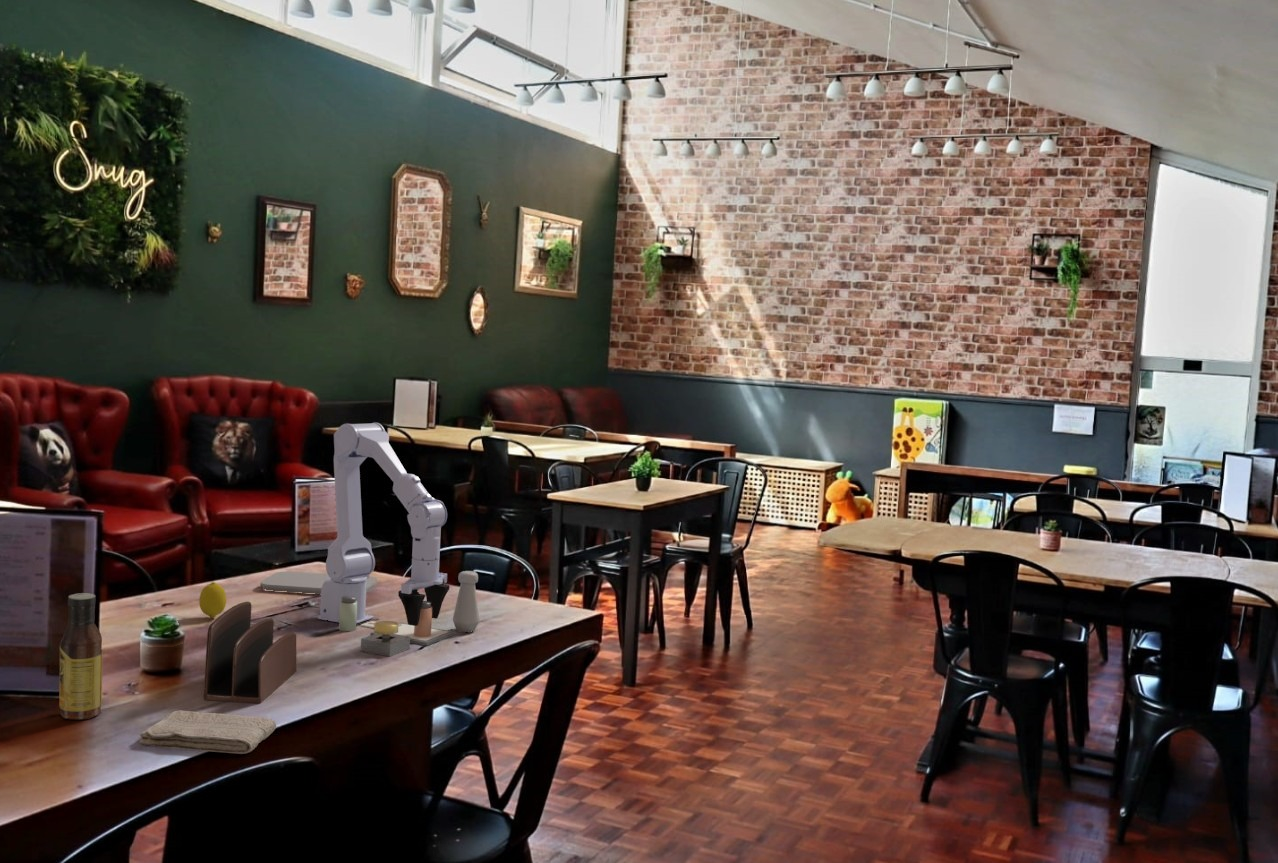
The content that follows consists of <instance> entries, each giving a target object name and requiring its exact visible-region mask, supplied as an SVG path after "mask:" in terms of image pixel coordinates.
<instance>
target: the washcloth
mask: <svg viewBox="0 0 1278 863" xmlns="http://www.w3.org/2000/svg"><path fill="white" fill-rule="evenodd" d="M276 728H277V723H276V722H275V720H273V719H272V718H267V717H260V716H259V717H256V716H245V715H241V714H233V713H232V714H227V713H216V712H212V713H211V712H201V711H190V710H181V709H180V710H174V711H172V712H171V713H166V714H165V716H164V718H163V719H161V720H159V721H158V722H156V723H155V724H153V725H151V726H149V727H147V728H146V729H145V730H143V731H142V732H141V731H140V737H141V738H139V743H140V744H142V745H145V746H146V745H147V746H150V747H157V748H166V749H176V750H188V751H189V750H190V751H200V752H201V751H202V752H212V753H213V752H215V753H228V754H239V755H243V754H244V755H245V754H248V753H251V752H253V751H254V750H255V748H257V746H258V745H259V743H261V742H262V741H264V740H266V739H267V738H268V737H269V736H270V735H271V734H273V733H274V731H275V730H276Z"/></svg>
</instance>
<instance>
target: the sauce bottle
mask: <svg viewBox="0 0 1278 863" xmlns="http://www.w3.org/2000/svg"><path fill="white" fill-rule="evenodd" d="M96 598H97V597H96V594H94V593H89V592H86V593H85V592H81V593H74V594H69V595H68V597H67V606H68V619H67V621H68V622H67V625H66V628H65V630H64V633H63V634H62V635H63V636H62V638H61V641H60V643H59V679H58V680H59V687H58V690H59V693H58V694H59V696H58V697H59V698H58V699H59V703H58V706H59V707H58V708H60V712H59V713H60V715H61V717H62V718H63V719H65V720H67V719H68V720H75V721H77V720H80V721H81V720H89V719H91V718H94V717H96V716H98V715H100V713H101V710H102V702H103V649H102V648H103V646H102V645H103V643H102V642H103V637H102V633H101V631H100V630H99V628H98V627H97V625H96V624H95V606H96Z"/></svg>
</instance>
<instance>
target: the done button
mask: <svg viewBox="0 0 1278 863" xmlns="http://www.w3.org/2000/svg"><path fill="white" fill-rule="evenodd" d="M375 622H376V623H374V628H373V632H375V633H377V634H382V640H390V634H395V633H398V623H399V622H396V621H392V620H382V621H381V620H380V621H375Z"/></svg>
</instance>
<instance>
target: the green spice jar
mask: <svg viewBox="0 0 1278 863" xmlns="http://www.w3.org/2000/svg"><path fill="white" fill-rule="evenodd" d="M356 622H357V601H356V597H354V596H343V597H342V601H340V617H339V622H338V630H339V631H341V632H346V631H348V632H354V630H355V631H356V630H357V623H356Z"/></svg>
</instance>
